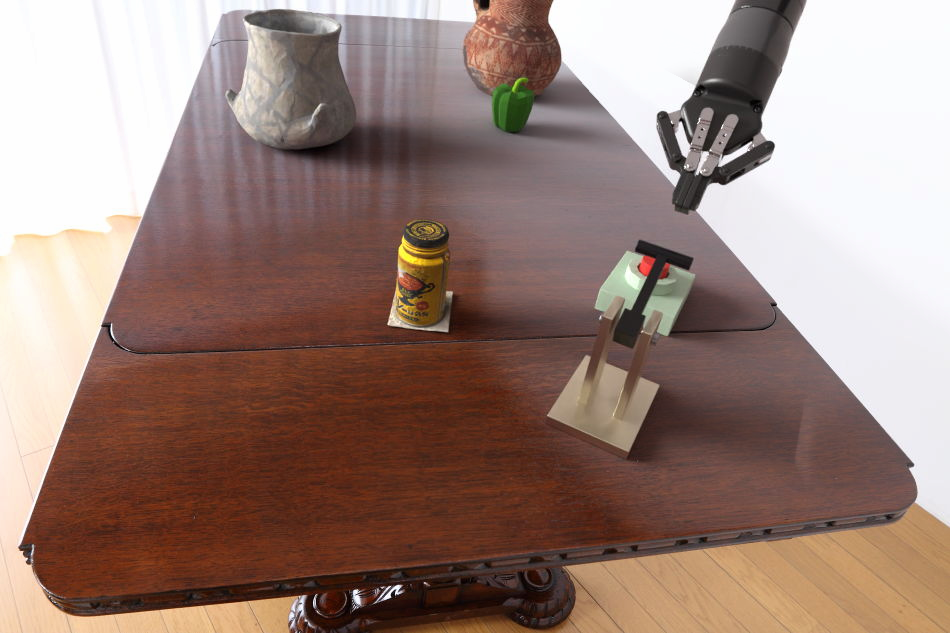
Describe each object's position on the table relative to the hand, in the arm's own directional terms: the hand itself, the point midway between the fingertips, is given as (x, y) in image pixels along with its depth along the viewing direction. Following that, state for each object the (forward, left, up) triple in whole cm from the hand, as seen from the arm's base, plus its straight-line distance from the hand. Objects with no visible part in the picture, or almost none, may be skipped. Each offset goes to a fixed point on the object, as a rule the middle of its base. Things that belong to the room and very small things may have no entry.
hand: (681, 210), depth 70 cm
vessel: (+25, -70, -20) cm, 77 cm away
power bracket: (+8, +6, -20) cm, 23 cm away
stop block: (-9, -10, -20) cm, 24 cm away
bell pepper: (-18, -69, -20) cm, 74 cm away
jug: (-28, -90, -20) cm, 96 cm away
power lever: (+5, +3, -8) cm, 10 cm away
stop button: (-9, -10, -15) cm, 20 cm away
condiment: (+21, -16, -20) cm, 33 cm away
